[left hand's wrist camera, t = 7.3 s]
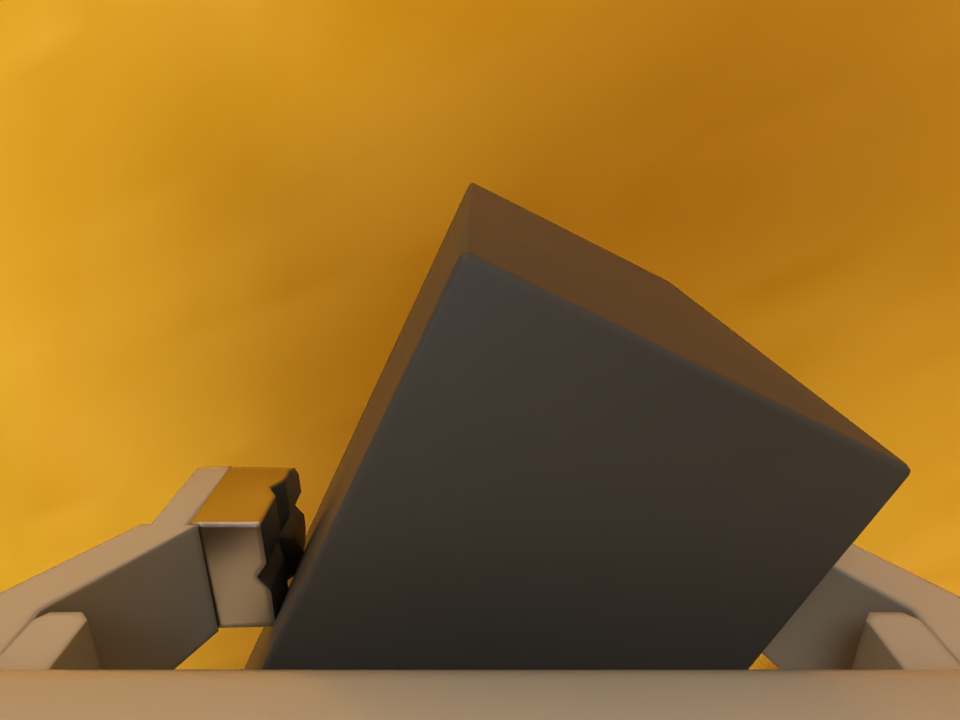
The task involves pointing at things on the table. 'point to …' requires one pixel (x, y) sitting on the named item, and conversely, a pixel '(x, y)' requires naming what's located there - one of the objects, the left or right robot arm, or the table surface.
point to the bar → (571, 477)
